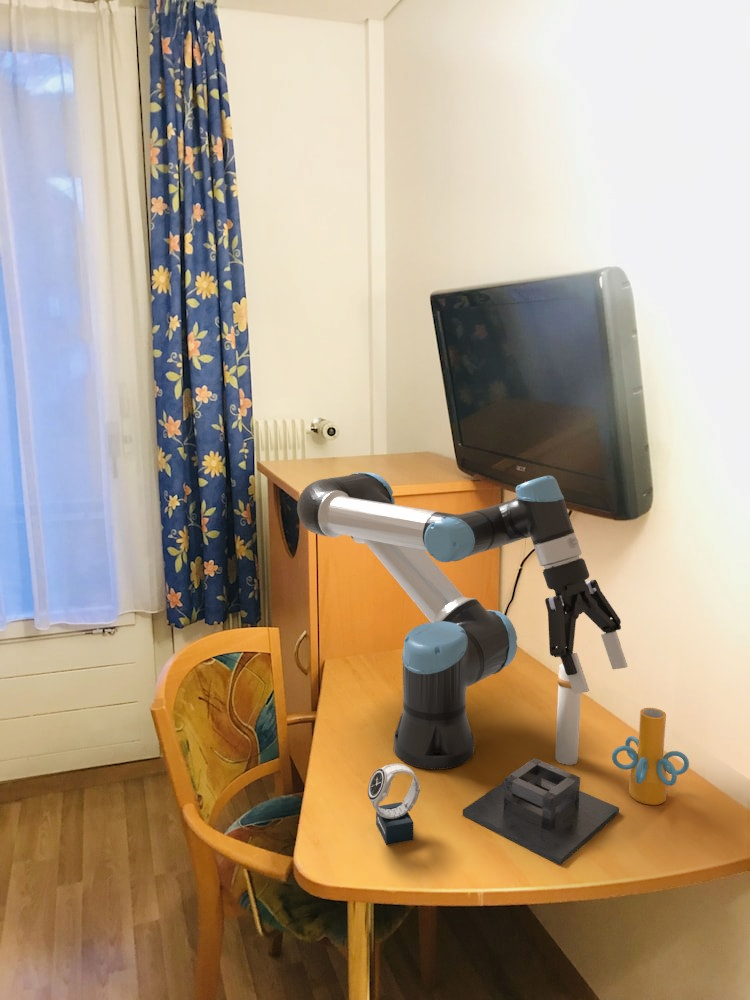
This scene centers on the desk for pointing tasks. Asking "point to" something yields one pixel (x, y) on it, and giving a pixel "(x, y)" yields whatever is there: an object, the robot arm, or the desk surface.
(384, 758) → the desk surface
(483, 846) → the desk surface
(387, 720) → the desk surface
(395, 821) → the watch
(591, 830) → the collar stand
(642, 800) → the yellow ring vase
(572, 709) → the tube
